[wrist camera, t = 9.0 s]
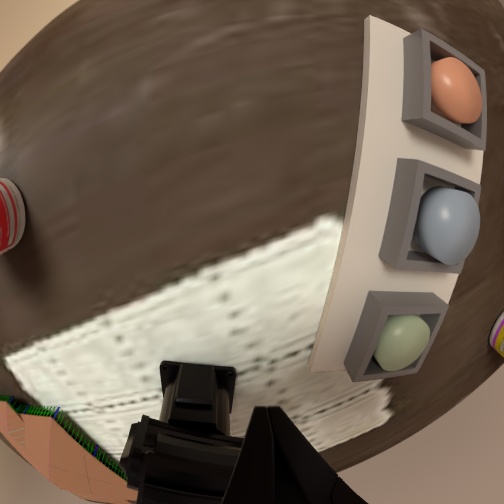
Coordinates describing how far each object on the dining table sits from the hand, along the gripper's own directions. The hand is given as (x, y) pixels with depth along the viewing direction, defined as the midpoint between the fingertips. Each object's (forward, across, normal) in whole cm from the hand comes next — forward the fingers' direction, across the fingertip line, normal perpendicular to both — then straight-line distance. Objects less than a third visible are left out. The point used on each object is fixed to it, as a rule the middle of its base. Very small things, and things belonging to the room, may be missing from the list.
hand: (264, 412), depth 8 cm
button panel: (+12, -13, -6) cm, 19 cm away
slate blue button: (+9, -13, -6) cm, 17 cm away
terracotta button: (+11, -13, -16) cm, 23 cm away
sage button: (+11, -13, +4) cm, 17 cm away
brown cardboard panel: (+13, +26, +37) cm, 47 cm away
